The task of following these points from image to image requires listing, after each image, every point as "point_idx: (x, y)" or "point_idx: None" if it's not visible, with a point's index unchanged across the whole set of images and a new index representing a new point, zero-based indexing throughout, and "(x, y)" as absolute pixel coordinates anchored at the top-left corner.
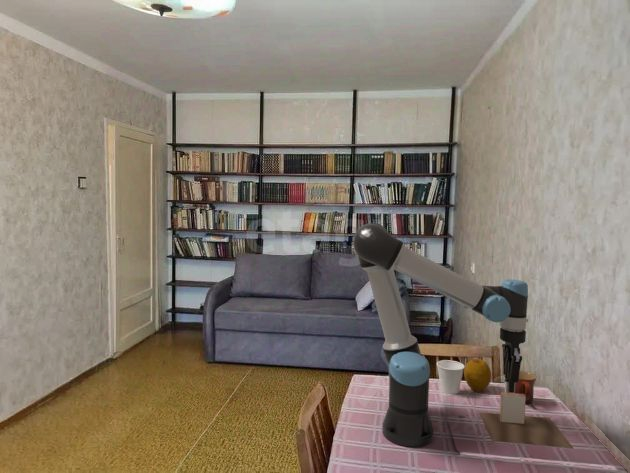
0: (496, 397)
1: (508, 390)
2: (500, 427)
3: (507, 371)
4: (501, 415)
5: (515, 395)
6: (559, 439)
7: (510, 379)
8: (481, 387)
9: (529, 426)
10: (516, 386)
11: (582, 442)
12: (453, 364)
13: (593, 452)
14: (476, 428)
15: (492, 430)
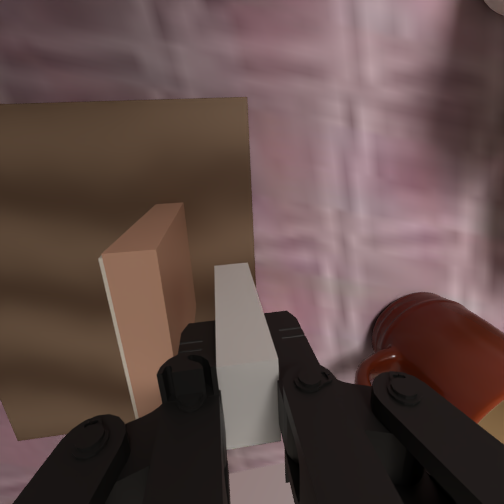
0: (462, 235)
1: (212, 324)
2: (87, 190)
3: (312, 502)
4: (149, 212)
5: (126, 362)
6: (72, 409)
7: (30, 480)
8: None
9: None
10: (449, 360)
11: None
12: None
13: None
14: (76, 53)
15: (26, 136)
